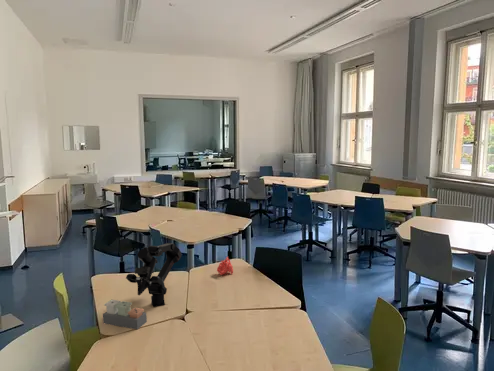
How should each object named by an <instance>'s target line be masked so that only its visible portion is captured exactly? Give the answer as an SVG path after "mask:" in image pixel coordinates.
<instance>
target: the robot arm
mask: <svg viewBox="0 0 494 371" xmlns="http://www.w3.org/2000/svg"><path fill="white" fill-rule="evenodd" d="M163 253H164V254H165V257H166V260H165V262H164V264H163V265H162V267H161V269H160V270H159V272H158V274H157V275H153V274H154V273H155V271H154V269H155V266H156V264H158V263H159V262H158V259H157V257H158V258H159V257H161V256H162V255H163ZM137 257H138V260H140V261H141V262H142V263H143V265H142V266H141V267H135V269H134V273H128V274H127V275H126V277H125V279H126V280H127V281H128V282H129V283H134V284H137V295H138V296H141V295H142V294H143V293H144V292H145V291H146V290H147V291H148V293H149V294H148V295H151V296H150V298H151V300H150V301H151V305H152V307H160V306H165V305H166V302H165V295H167V290H168V288H167V287H166V286H165V281H166V279H167V277H168V276H169V273H170V271H171V269H172V268H173V266H174V265H175V264H176V263H177V262H179V261H180V259H181V258H182V252H181V250H180V248H179V247H177V246H176V244H175V243H174V242H166V243H162V244H160V245H149V246H148V247H147V246H143V248H142V249H140V250H139V251H138V252H137Z"/></svg>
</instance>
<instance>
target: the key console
mask: <svg viewBox="0 0 494 371" xmlns="http://www.w3.org/2000/svg"><path fill="white" fill-rule="evenodd" d="M147 318H148V317H147V312H145V311H143V312H142V315H141V316H140V317H139V318H132V317H130V315H129V314H128V315H127V316H120V315H118V312H117V313H116V314H108V313H107V311H105V312H104V313H103V314H102V323H103V324H104V323H105V325H109V324H110V325H111V326H116V327H121V328H127V329H132V330H133V329H134V330H139V329H140V328H141V327H143V325H145V324H146V323H147V322H148V321H147V320H148V319H147Z"/></svg>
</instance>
